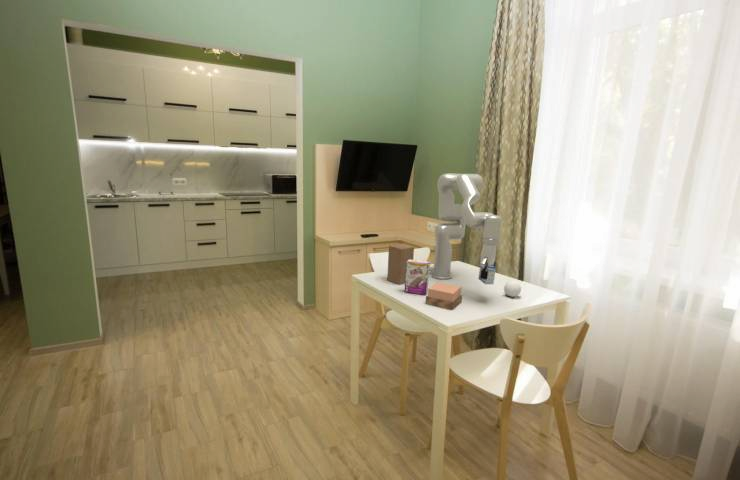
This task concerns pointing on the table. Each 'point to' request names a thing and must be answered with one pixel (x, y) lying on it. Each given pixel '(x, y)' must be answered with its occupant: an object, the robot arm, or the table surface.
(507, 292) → the ball
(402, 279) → the wooden block
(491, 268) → the medicine box
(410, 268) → the candy bar box
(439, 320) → the table surface
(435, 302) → the tower bottom
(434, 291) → the tower top
